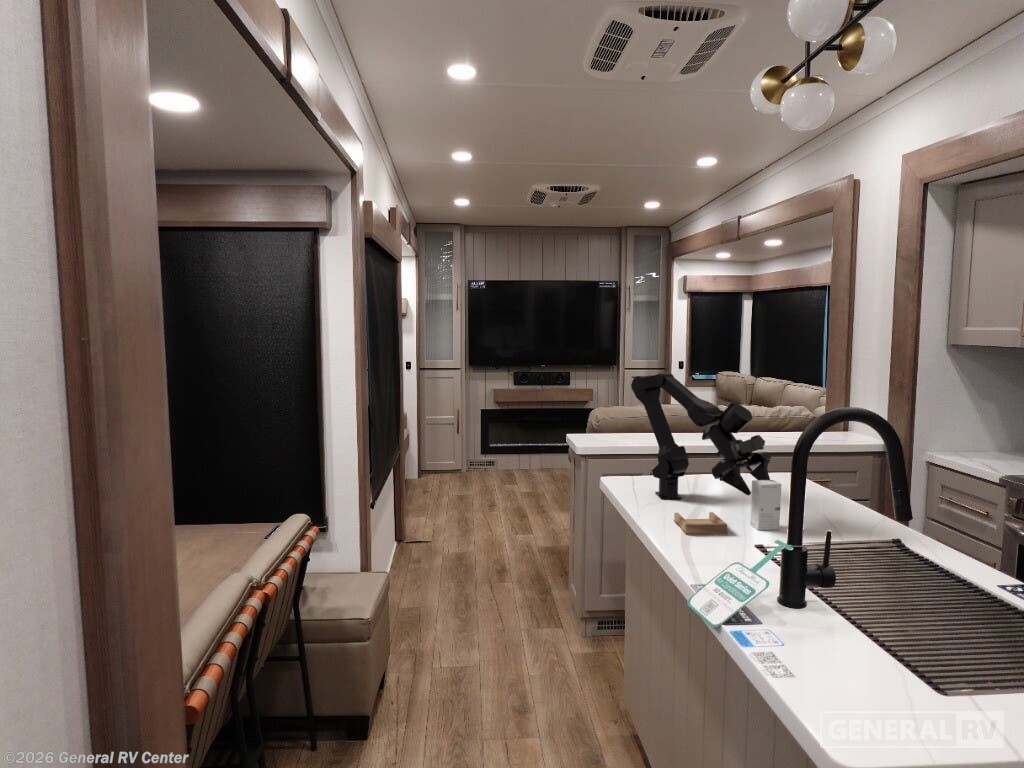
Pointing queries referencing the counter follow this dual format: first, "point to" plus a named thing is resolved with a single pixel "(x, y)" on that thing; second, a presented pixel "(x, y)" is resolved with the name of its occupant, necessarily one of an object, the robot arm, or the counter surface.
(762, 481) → the skincare box
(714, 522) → the tray
